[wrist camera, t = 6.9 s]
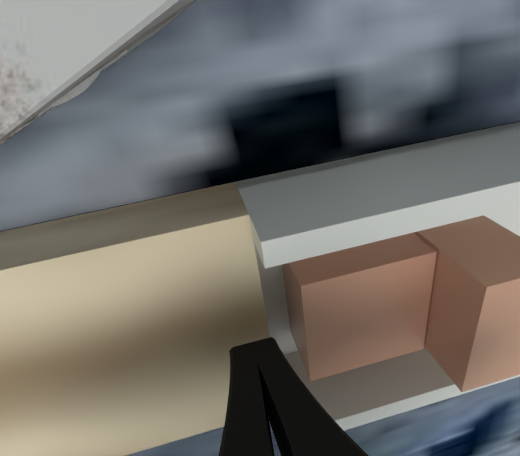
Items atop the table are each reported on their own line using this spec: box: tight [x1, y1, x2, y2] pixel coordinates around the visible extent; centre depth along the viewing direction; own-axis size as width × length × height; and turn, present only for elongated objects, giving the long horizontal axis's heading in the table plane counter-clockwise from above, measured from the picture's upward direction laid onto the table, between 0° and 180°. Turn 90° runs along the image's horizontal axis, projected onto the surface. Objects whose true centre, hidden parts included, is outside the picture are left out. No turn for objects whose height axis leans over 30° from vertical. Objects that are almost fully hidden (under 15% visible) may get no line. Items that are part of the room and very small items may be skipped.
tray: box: [235, 122, 520, 430], centre depth 13 cm, size 9×13×4 cm
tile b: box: [282, 232, 437, 382], centre depth 13 cm, size 4×4×2 cm
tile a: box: [414, 215, 520, 392], centre depth 13 cm, size 4×4×2 cm
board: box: [0, 182, 270, 456], centre depth 13 cm, size 9×10×2 cm
